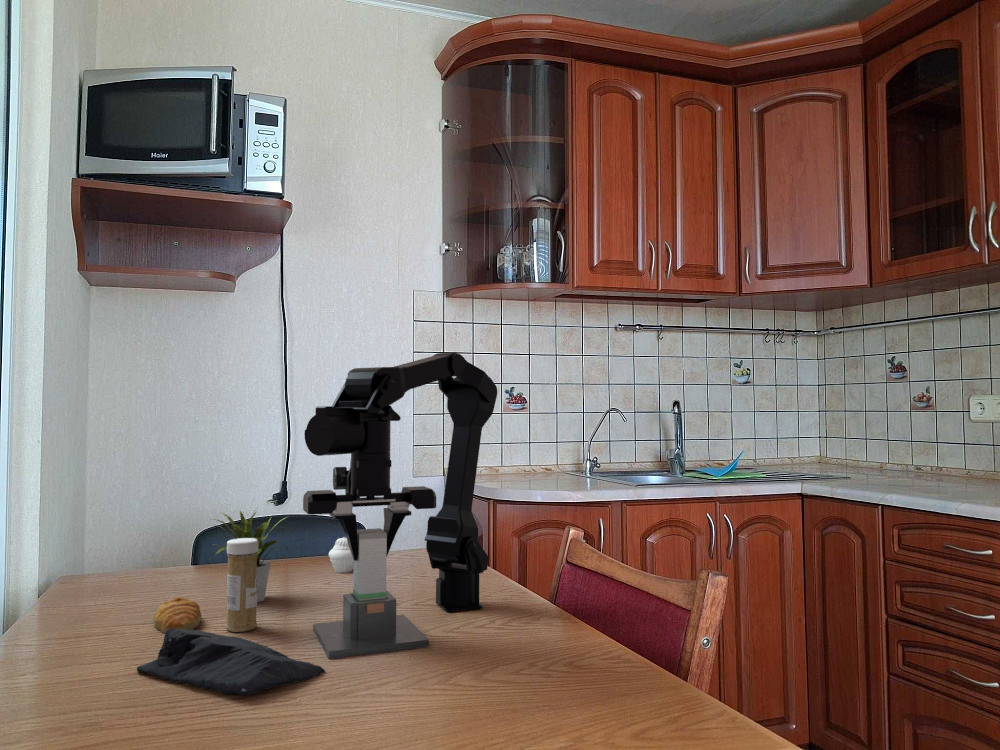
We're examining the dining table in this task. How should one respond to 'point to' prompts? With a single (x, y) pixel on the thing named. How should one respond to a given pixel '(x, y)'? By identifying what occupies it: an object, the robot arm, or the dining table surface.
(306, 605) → the dining table surface
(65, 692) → the dining table surface
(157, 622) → the pastry
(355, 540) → the robot arm
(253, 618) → the sprinkles bottle
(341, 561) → the muffin
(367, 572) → the column
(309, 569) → the dining table surface
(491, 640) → the dining table surface
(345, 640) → the stand
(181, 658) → the dark slate chunk
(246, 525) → the house plant
